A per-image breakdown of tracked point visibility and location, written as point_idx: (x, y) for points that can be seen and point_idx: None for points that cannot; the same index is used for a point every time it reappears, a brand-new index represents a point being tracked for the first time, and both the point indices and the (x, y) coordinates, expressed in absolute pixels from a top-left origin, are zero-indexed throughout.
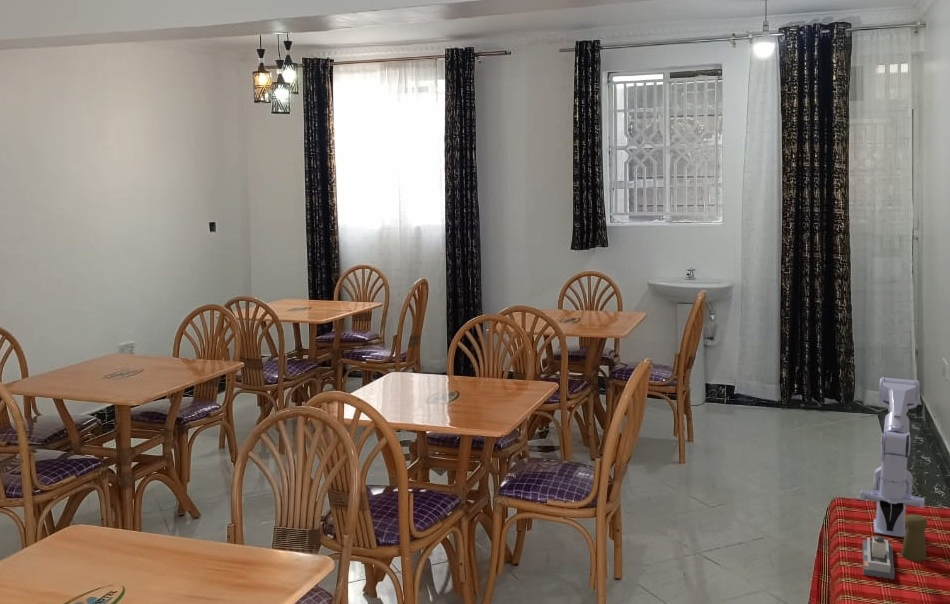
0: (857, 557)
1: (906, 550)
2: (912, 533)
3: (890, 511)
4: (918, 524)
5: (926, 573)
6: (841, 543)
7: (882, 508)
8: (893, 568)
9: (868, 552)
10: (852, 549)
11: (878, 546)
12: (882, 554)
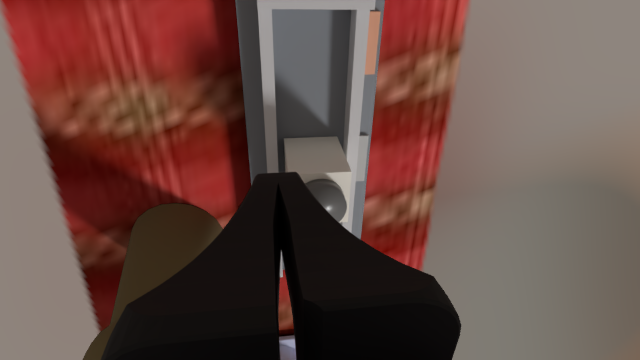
0: (382, 149)
1: (199, 234)
2: None
3: (300, 276)
4: None
5: (103, 109)
6: (422, 234)
7: (423, 282)
8: (241, 47)
9: (356, 139)
10: (392, 206)
11: (320, 162)
12: (295, 145)
